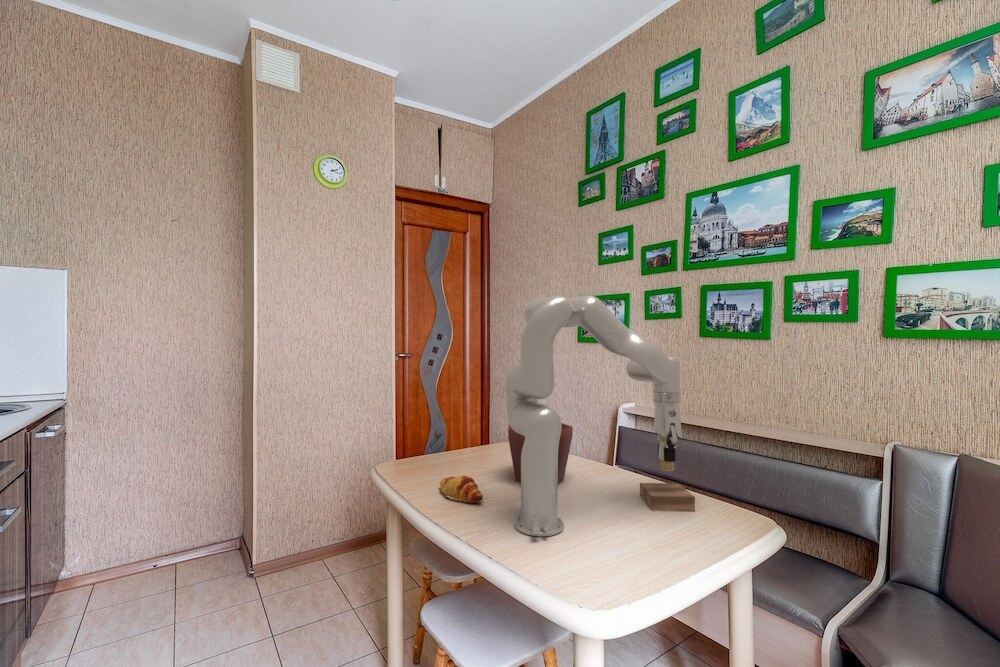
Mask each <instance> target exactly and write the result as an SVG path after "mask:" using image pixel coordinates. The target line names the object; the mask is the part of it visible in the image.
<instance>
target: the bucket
mask: <svg viewBox="0 0 1000 667" xmlns="http://www.w3.org/2000/svg"><path fill="white" fill-rule="evenodd" d="M561 424H562V428H561V435H560V440H559V446H558V485H560V483H562V482H564V479H565V474H566V469H567V464H568V459H569V455H570V449H571V444H572V440H573V436H574V435H573V434H574V433H573V428H574V427H573V426H572V425H569V424H567V423H563V422H561ZM507 427H508V428H507V429H508V431H507V432H508V433H507V434H508V435H507V436H508V437H507V438H508V444H509V449H510V456H511V462H512V468H513V472H514V479H515V483H516V482H519V483H521V454H522V448H523V445H524V441H525V436H523V435H521V434H519V433H517V432H515V431H514V430H513V429H512V428H511V426H510V424H509V423H508V426H507ZM519 483H518V484H519Z"/></svg>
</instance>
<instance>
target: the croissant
mask: <svg viewBox="0 0 1000 667" xmlns="http://www.w3.org/2000/svg"><path fill="white" fill-rule="evenodd" d="M439 485H440V491H441V493H442V492H443V493H444V494H443V493H442V494H443V496H444V495H445V496H449V497H451V498H454V499H457V500H461V501H460V502H463V501H466V502H465V503H467V502H471V503H470V504H477V503H479V502H481V501H483V499H484V495H483V494H482V491H480V489H479V485H478V484H477V483H476V482H475V480H474V478H473V477H471V476H469V475H465V474H464V475H458V476H449V477H445V478H443V479H441V481H440V482H439Z"/></svg>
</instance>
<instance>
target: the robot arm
mask: <svg viewBox="0 0 1000 667" xmlns="http://www.w3.org/2000/svg"><path fill="white" fill-rule="evenodd" d="M523 313H524V314H523V315H524V320H525V322H526V324H525V326H524V329H523V331H522V334H521V339H520V361H517V362H515V363H514V364H512V365H511V367H510V368H509V369H508V371H507V374H506V378H505V397H506V399H505V401H506V415H507V416H506V417H507V421H508V425H509V424H510V426H511V428H512V429H513V430H514V431H515V432H517V433H519V434H521V435H523V436H525V441H524V445H523V448H522V454H521V484H520V515H519V516H517V517H516V518H515V520H514V527H515V529H516V530H517V531H518V532H520V533H522V534H525V535H527V536H532V537H551V536H554V535H558V534H559V533H561V532H562V531H563V530H564V527H565V524H564V521H563V520H562V519H561V517H559V516H558V500H559V499H558V498H559V497H558V495H559V494H558V492H559V491H558V488H559V487H558V486H559V484H558V446H559V440H560V435H561V428H562V424H561V423H562V419H561V417H560V415H559V414H558V412H557V411H556V409H555V408H553V407H551V406H549V405H547V404H544V403H540V402H538V400H544V399H547V398H549V397H550V396H551V395H552V393H553V392H554V389H555V365H554V362H555V361H554V344H555V340H556V337H557V335H558V334H559V332H560V331H561V329H563V328H572V327H573V328H574V327H575V328H576V327H581V328H583V329H584V330H585V331H586V332H587V333H589V335H591V337H593V338H594V339H595V340H596V341H597V342H598V343H599V345H601V346H602V347H603V348H604V349H605V350H607V351H609V352H611V353H613V354H616V355H619V356H622V357H625V358H627V359H629V360H628V362H627V363H626V366H625V368H626V369H625V370H626V373H627V375H628V377H630V378H631V379H633V380H635V381H638V382H643V383H644V382H646V383H652V402H653V403H655V405H654V418H653V419H654V421H653V422H654V423H653V424H654V431H655V432H656V433H657V456H658V457H659V433H660V435H662V436H663V437H664V440H665V448H664V461H665V462H674V463H675V462H676V448H677V445H676V444H677V442H678V439H680V438H682V420H681V409H680V404H681V376H680V375H681V368H680V367H681V362H680V359H679V358H678V357H676V356H671V355H670V356H669V355H667V354H666V352H664V351H663V349H662V348H660V347H659V346H658V345H657V344H655V343H654V342H653V341H651V340H650V339H648V338H646V337H644V336H643V335H641V334H639V333H638V332H636V331H634V330H633V329H630V328H628V327H627V325H625V324H624V323H623V322H622V321H621V319H619V318H618V316H616V315H615V314H614V312H612V311H611V309H610V308H608V306H607V305H605V303H604V302H603V301H602V300H601V299H599V298H598V297H596V296H594V295H583V296H582V295H581V296H575V297H565V296H563V295H552V296H547V297H546V296H545V297H542V298H536V299H532V300H531V301H529V303H528V304H527V305H526V306H525V309H524V312H523ZM668 435H671V437H667V436H668ZM668 439H671V440H669V441H668Z"/></svg>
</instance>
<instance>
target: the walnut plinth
mask: <svg viewBox="0 0 1000 667" xmlns="http://www.w3.org/2000/svg"><path fill="white" fill-rule="evenodd" d="M640 496H641V497H640ZM639 497H640V498H641V499H642V500H643V502H644V503H645V502H646V506H648V507H649V509H650V508H651V509H652V510H695V511H696V499H695V498H696V497H695V495H693V494H692V493H691V492H690V491H688V490H687V489H686V488H684V486H682V485H681V484H680V483H673V482H672V483H671V482H670V483H668V482H667V483H666V482H665V483H663V482H639ZM651 509H650V510H651ZM652 510H651V511H652Z"/></svg>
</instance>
